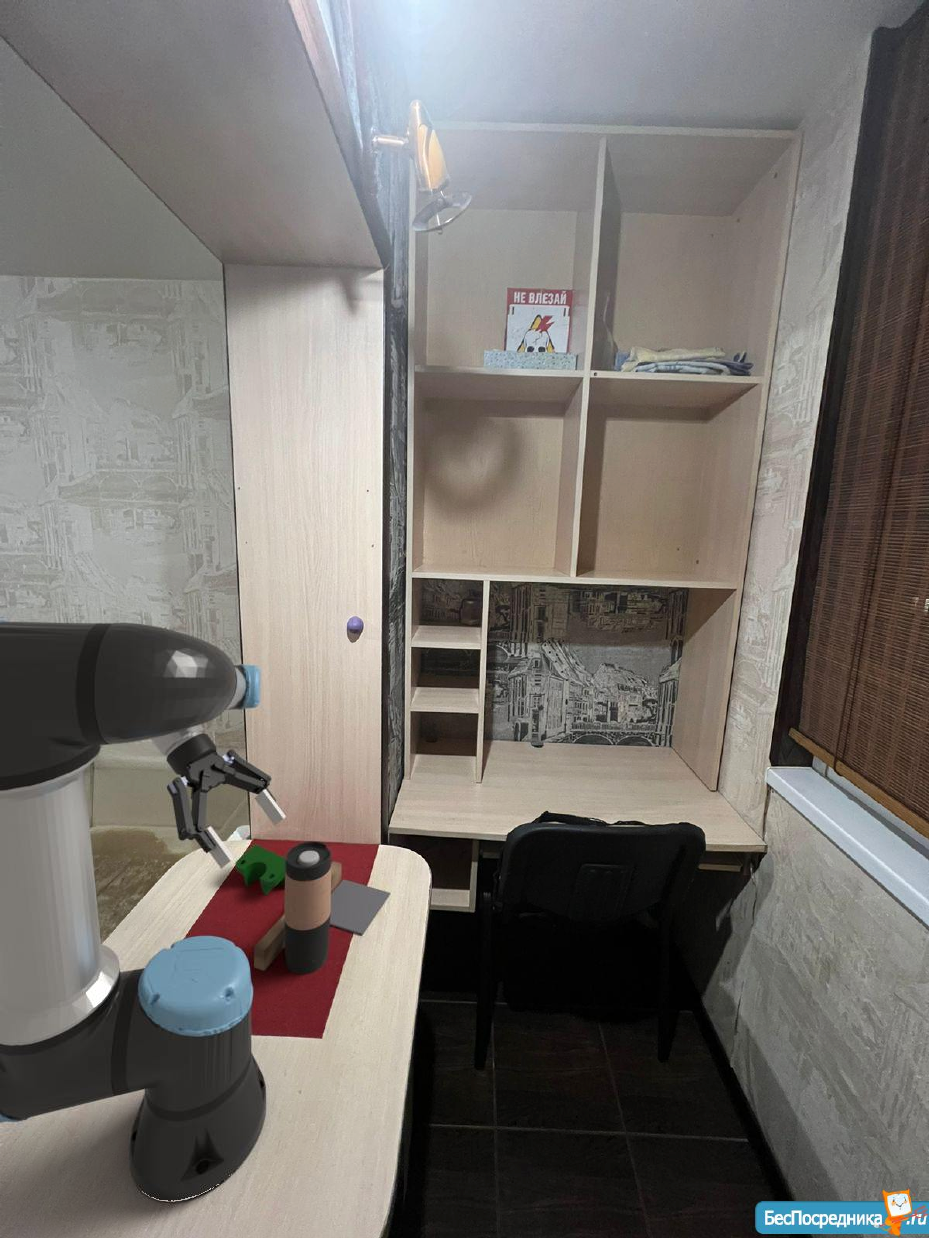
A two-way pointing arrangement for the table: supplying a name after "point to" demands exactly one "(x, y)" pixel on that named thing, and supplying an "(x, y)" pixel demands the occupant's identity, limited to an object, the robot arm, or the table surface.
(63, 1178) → the table surface
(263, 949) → the rail
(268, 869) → the clamp
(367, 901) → the end mat
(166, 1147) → the robot arm
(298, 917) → the travel mug
